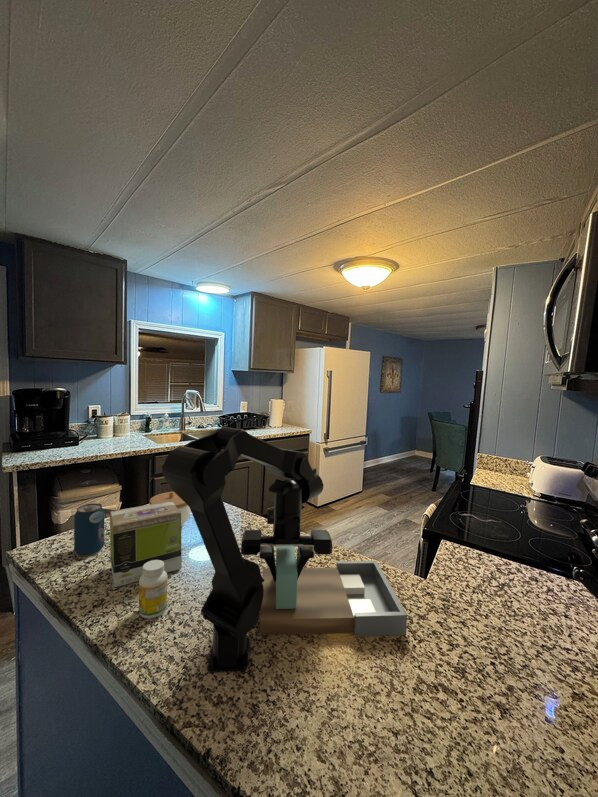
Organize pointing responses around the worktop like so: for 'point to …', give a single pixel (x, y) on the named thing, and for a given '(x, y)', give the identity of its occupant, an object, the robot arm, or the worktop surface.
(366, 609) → the tile
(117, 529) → the tea box
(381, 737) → the worktop surface
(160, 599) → the supplement bottle
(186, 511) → the lidded bowl
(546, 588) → the worktop surface
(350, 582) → the tile
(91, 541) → the soda can
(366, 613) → the tray
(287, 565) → the tapered teal post
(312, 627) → the board
